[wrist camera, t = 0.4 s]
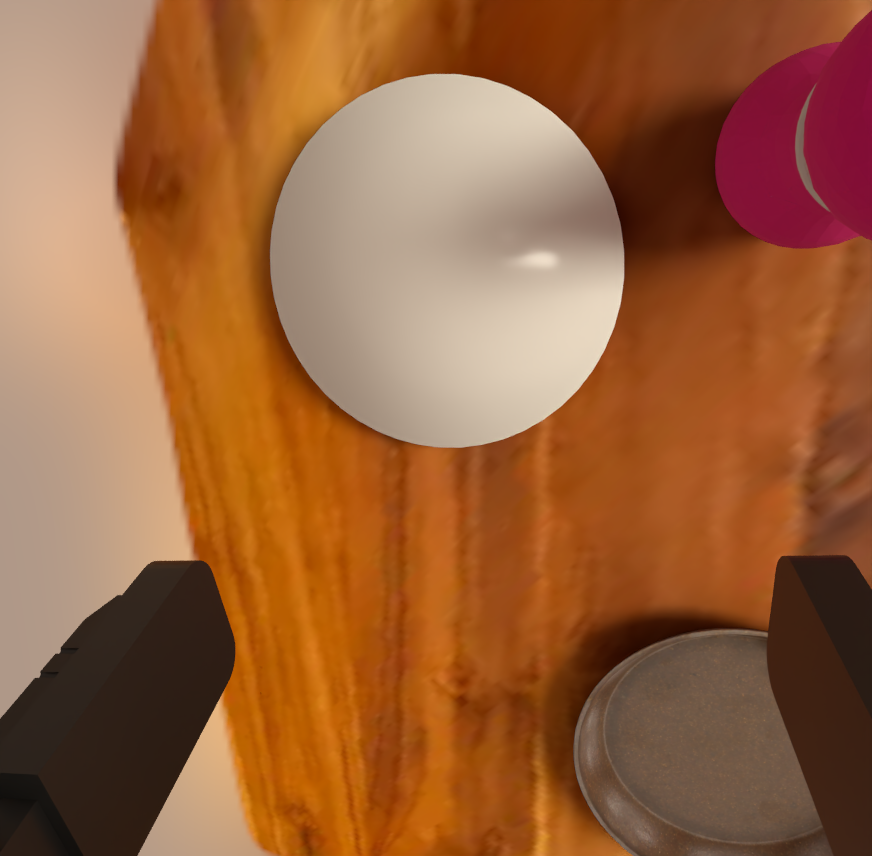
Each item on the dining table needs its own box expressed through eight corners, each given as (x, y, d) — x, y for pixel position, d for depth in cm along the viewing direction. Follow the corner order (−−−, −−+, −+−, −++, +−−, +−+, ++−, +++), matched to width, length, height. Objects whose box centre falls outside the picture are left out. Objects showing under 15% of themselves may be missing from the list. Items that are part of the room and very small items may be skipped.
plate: (291, 66, 34) (274, 59, 32) (660, 96, 30) (663, 90, 29) (280, 406, 40) (265, 415, 38) (587, 464, 36) (586, 477, 35)
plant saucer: (739, 541, 36) (749, 569, 33) (982, 760, 36) (1012, 806, 34) (517, 712, 43) (510, 748, 40) (723, 895, 43) (730, 943, 40)
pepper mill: (676, 128, 31) (764, 13, 12) (845, 29, 28) (1279, -306, 10) (742, 271, 32) (913, 364, 13) (910, 189, 29) (1412, 163, 11)
